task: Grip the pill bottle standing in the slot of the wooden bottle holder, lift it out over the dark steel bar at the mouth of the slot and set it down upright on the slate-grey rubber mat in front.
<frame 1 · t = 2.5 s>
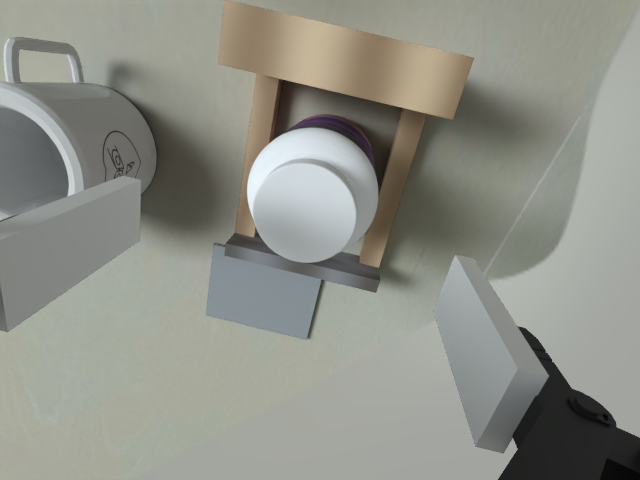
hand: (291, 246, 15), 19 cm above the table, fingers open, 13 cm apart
wooden bottle holder: (324, 173, 33), on the table
mug: (102, 130, 34), on the table
mat: (262, 292, 38), on the table
pill bottle: (327, 161, 33), resting in wooden bottle holder
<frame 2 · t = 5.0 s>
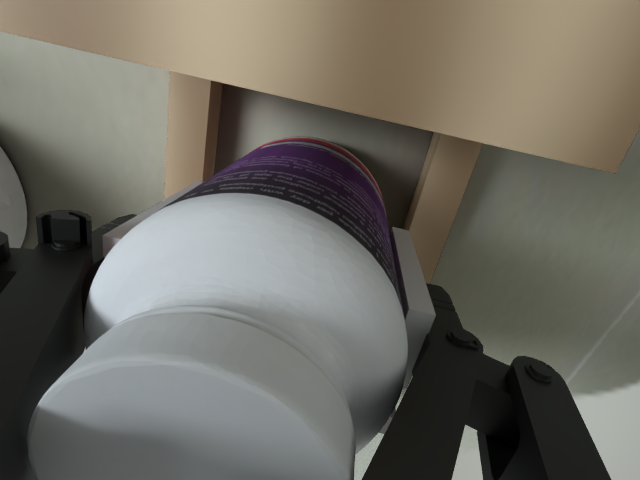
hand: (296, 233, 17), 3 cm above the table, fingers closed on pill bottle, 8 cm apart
wooden bottle holder: (302, 231, 20), on the table
pill bottle: (306, 212, 20), resting in wooden bottle holder, touching gripper
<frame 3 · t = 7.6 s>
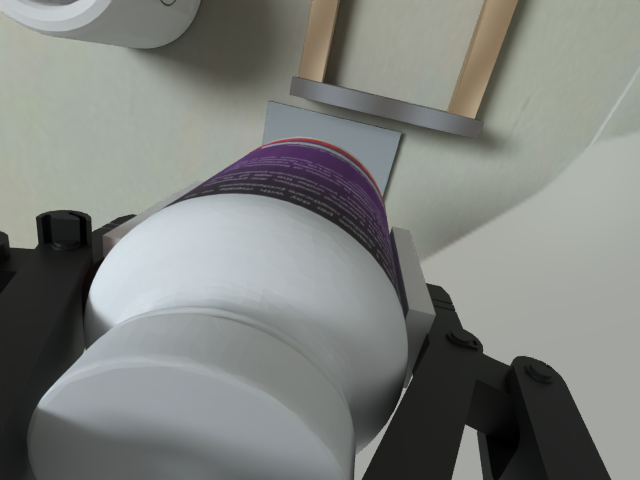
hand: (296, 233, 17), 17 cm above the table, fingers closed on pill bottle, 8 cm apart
mat: (324, 166, 32), on the table
pill bottle: (306, 213, 20), point 14 cm above the table, touching gripper
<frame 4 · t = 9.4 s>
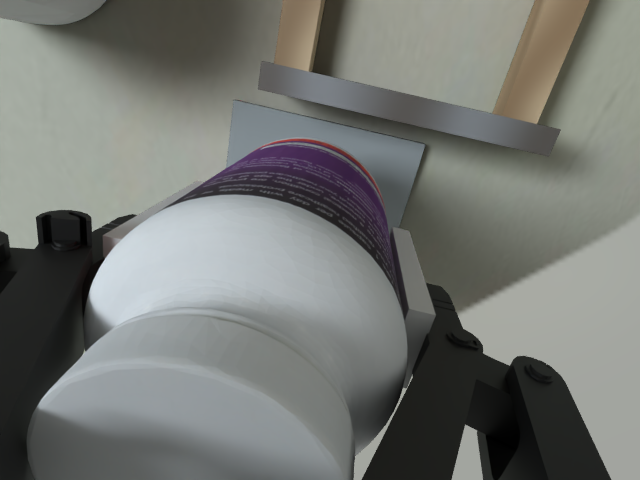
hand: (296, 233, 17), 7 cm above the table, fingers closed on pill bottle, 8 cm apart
mat: (314, 191, 23), on the table
pill bottle: (306, 213, 20), point 4 cm above the table, touching gripper
when the fingers open (4 cm above the table, at t = 10.7 s): pill bottle drops 1 cm, resting on mat.
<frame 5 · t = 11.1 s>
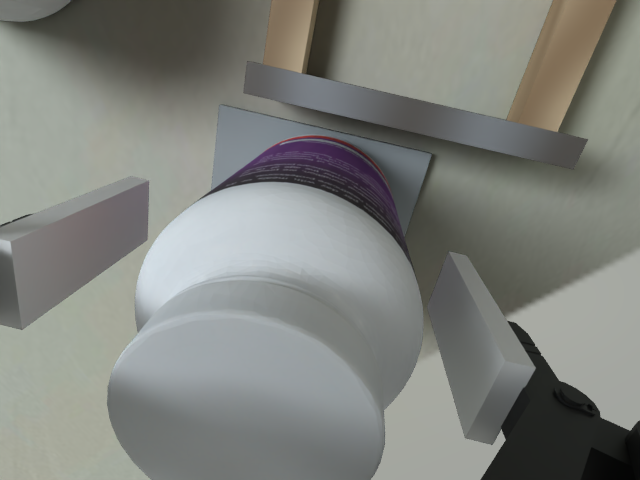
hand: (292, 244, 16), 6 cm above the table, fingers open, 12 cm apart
mat: (309, 204, 21), on the table
pill bottle: (318, 206, 21), resting on mat
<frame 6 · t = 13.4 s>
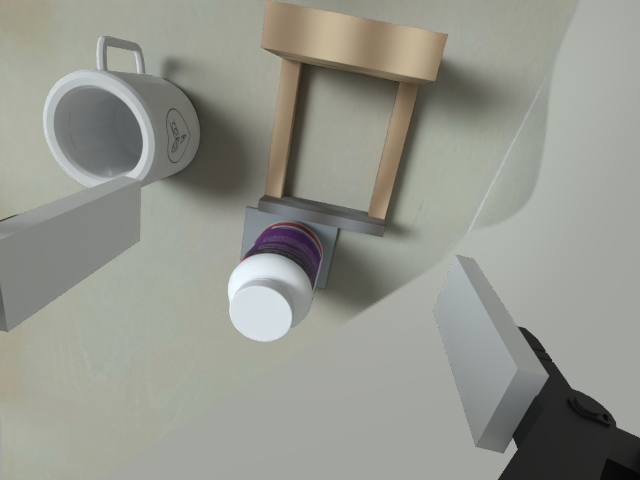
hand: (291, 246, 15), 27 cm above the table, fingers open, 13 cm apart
wooden bottle holder: (337, 142, 41), on the table
mug: (156, 114, 42), on the table
mat: (287, 248, 46), on the table
pill bottle: (291, 249, 45), resting on mat
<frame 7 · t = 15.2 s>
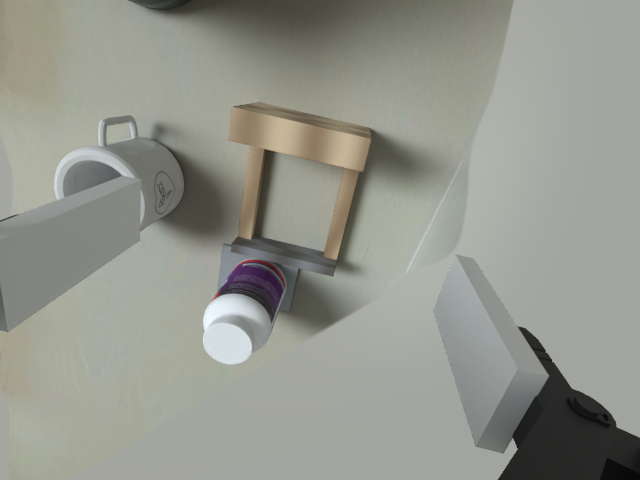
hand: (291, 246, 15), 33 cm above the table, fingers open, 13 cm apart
wooden bottle holder: (298, 195, 49), on the table
mug: (147, 166, 50), on the table
mat: (257, 278, 54), on the table
pill bottle: (260, 279, 54), resting on mat
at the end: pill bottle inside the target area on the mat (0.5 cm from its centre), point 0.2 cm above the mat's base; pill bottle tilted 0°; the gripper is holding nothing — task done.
